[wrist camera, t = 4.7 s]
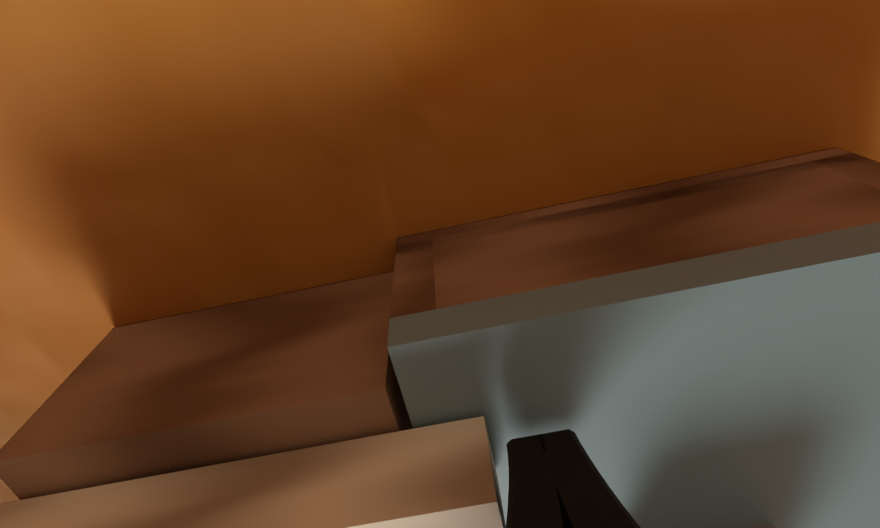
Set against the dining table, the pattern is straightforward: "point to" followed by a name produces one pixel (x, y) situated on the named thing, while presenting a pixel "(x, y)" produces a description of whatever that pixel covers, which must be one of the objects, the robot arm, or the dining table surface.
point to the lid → (681, 381)
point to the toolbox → (367, 325)
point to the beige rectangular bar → (301, 489)
